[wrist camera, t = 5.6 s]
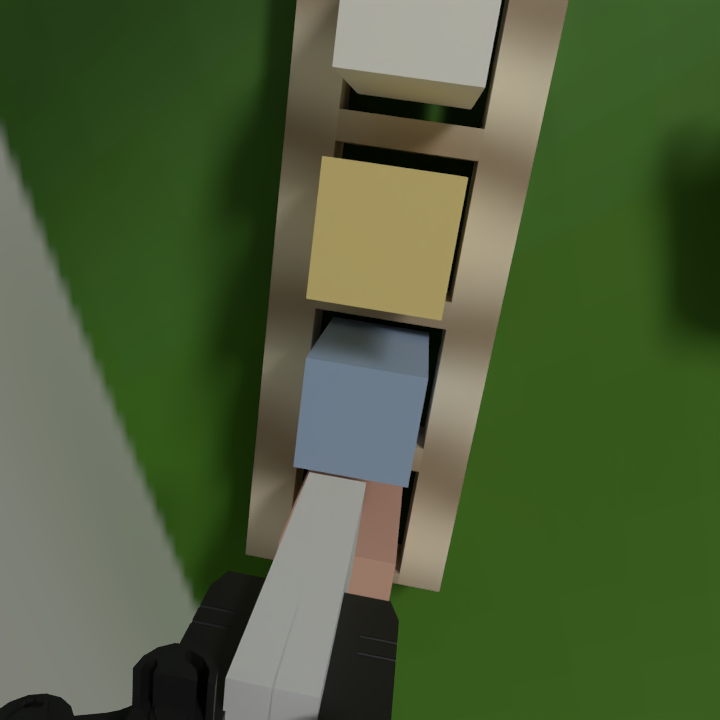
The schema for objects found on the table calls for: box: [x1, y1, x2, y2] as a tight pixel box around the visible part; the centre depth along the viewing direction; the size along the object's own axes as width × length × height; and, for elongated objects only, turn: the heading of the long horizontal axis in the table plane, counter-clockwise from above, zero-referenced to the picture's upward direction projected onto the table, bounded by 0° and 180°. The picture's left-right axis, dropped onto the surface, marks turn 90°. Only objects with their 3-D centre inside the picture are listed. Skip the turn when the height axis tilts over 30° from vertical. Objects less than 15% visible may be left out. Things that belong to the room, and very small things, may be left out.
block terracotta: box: [278, 470, 403, 601], centre depth 26 cm, size 4×4×6 cm
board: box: [245, 0, 569, 592], centre depth 27 cm, size 28×10×2 cm, turn 172°
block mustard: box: [306, 156, 468, 321], centre depth 22 cm, size 4×4×6 cm
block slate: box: [293, 317, 429, 488], centre depth 25 cm, size 4×4×6 cm
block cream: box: [332, 0, 502, 109], centre depth 20 cm, size 4×4×6 cm
